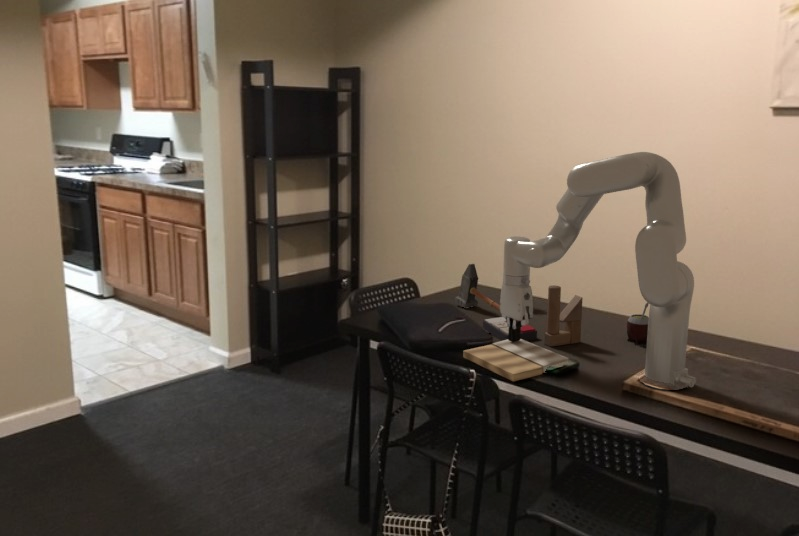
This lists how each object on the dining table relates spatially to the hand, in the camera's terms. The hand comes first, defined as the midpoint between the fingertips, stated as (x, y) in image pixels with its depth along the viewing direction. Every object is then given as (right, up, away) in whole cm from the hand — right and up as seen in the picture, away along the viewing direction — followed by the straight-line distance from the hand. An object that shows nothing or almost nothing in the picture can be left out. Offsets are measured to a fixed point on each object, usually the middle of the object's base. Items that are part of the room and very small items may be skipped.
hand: (514, 340), depth 207 cm
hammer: (-3, +5, +37) cm, 38 cm away
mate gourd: (+39, -1, +6) cm, 39 cm away
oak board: (-6, -6, -12) cm, 14 cm away
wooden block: (+15, -2, +6) cm, 17 cm away
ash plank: (+3, -4, -7) cm, 9 cm away
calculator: (+1, 0, +15) cm, 15 cm away
